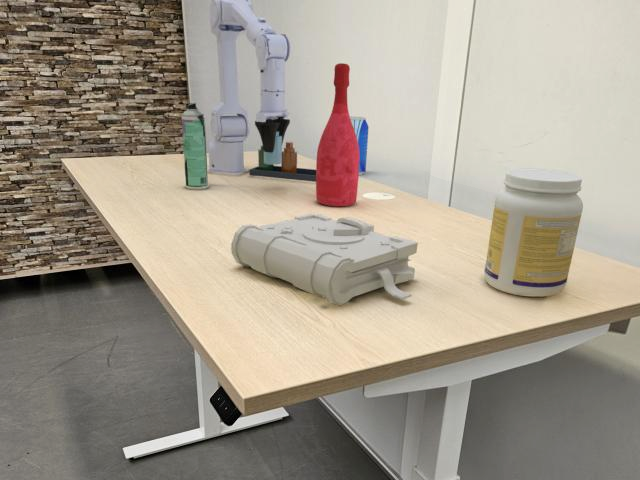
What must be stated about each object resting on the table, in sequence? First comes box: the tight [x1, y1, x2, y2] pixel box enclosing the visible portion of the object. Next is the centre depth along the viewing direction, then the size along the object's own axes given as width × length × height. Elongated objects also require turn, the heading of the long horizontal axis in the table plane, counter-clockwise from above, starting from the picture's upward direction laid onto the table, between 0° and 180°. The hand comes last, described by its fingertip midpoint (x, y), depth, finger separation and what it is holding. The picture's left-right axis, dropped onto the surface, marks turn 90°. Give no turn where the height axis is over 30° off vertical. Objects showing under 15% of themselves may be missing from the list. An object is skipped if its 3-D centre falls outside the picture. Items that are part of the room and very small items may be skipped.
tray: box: [248, 165, 316, 183], centre depth 162 cm, size 21×9×2 cm, turn 72°
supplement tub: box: [483, 167, 584, 298], centre depth 86 cm, size 12×12×17 cm
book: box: [230, 212, 419, 307], centre depth 87 cm, size 19×28×8 cm
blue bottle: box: [264, 131, 283, 166], centre depth 140 cm, size 4×4×9 cm
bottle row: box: [257, 141, 298, 174], centre depth 161 cm, size 11×4×9 cm, turn 72°
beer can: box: [349, 115, 369, 176], centre depth 166 cm, size 8×8×16 cm
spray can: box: [181, 102, 209, 191], centre depth 141 cm, size 6×6×20 cm
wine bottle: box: [315, 62, 360, 207], centre depth 129 cm, size 10×10×30 cm
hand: (272, 150), depth 141 cm, fingers closed on blue bottle, 4 cm apart
